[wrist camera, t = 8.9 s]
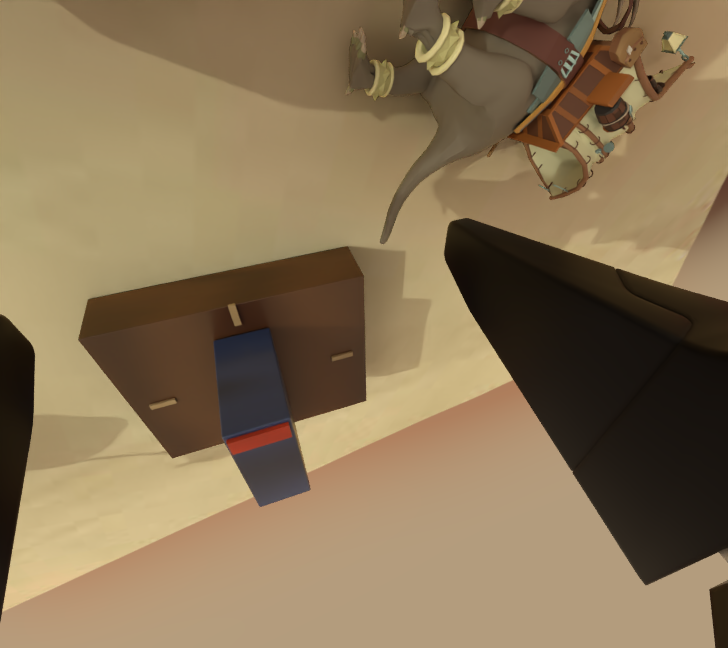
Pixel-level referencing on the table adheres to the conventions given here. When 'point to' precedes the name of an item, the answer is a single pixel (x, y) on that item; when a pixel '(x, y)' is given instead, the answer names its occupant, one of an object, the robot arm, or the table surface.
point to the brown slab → (225, 319)
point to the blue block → (258, 417)
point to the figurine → (519, 84)
